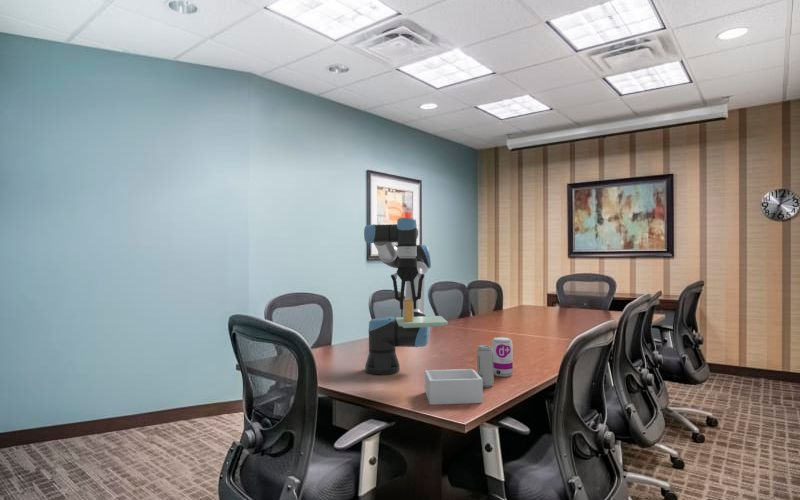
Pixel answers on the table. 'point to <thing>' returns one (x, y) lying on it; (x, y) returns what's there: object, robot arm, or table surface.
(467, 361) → the table surface
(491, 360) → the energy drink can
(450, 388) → the tub
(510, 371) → the supplement can
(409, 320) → the lid
